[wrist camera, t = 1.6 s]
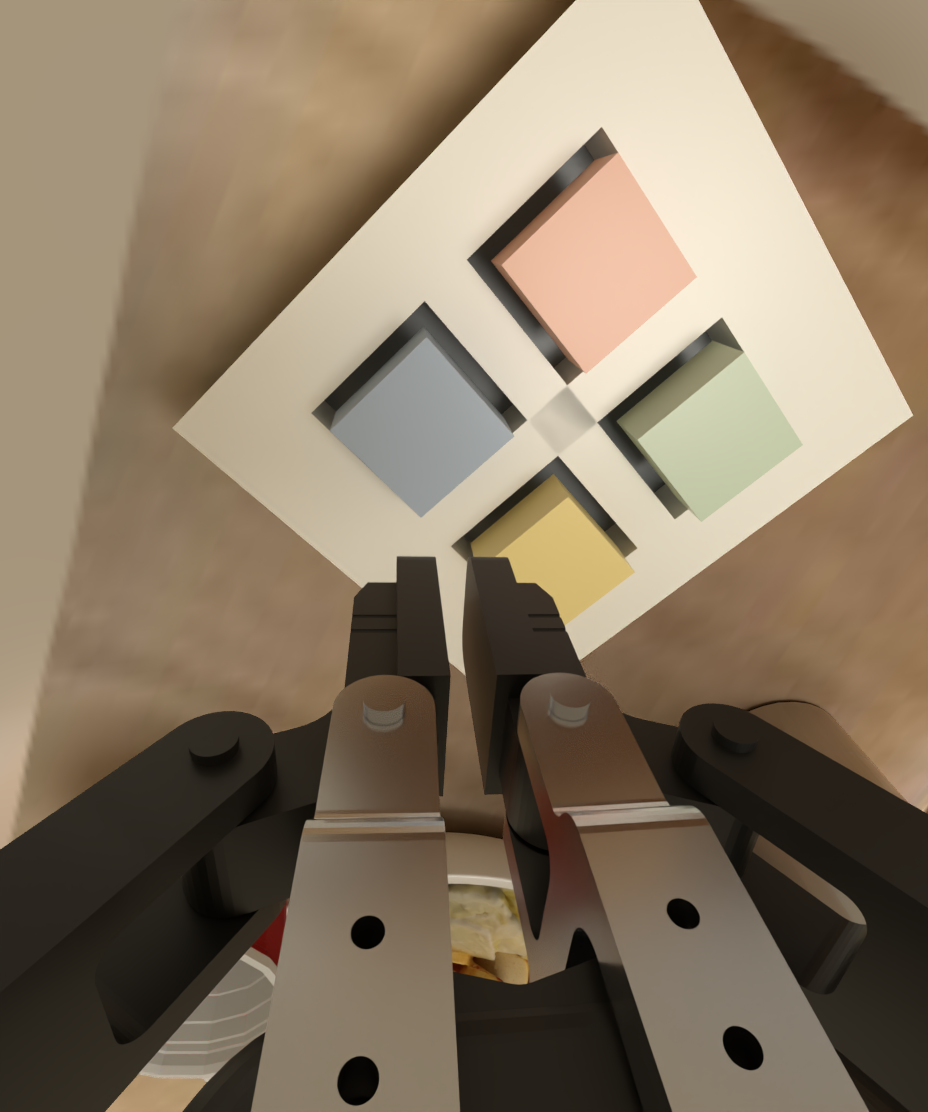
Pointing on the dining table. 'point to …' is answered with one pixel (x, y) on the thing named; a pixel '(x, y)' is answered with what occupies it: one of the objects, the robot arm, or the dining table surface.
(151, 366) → the dining table surface
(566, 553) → the key mustard
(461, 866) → the bowl
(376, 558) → the keypad board
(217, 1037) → the plastic cup
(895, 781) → the dining table surface
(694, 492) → the key sage
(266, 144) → the dining table surface
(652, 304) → the key terracotta
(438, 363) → the key slate
